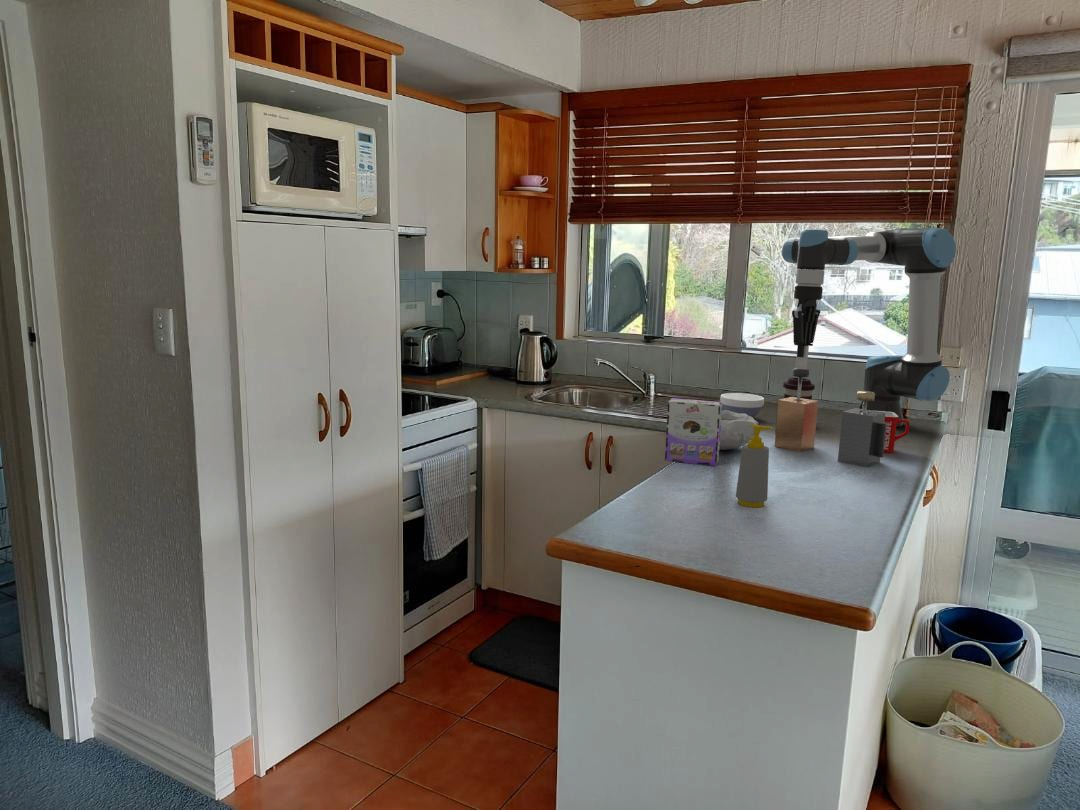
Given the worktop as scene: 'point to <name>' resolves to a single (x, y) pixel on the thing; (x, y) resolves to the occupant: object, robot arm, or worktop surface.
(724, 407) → the bowl
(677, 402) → the candy box
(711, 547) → the worktop surface
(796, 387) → the coffee cup
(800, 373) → the grey t-shaped piece
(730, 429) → the white crumpled bag
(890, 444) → the mug
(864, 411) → the beige t-shaped piece
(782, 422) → the tall wooden block
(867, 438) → the grey block
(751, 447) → the soap bottle
